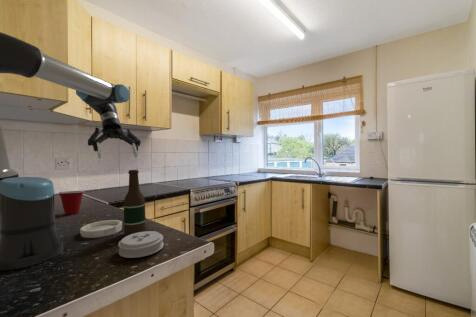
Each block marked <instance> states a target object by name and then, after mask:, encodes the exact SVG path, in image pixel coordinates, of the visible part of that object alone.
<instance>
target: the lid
mask: <svg viewBox="0 0 476 317" xmlns="http://www.w3.org/2000/svg"><path fill="white" fill-rule="evenodd" d="M163 239H164V235H163V234H161V233H160V232H158V231H155V230H154V231H153V230H151V231H150V230H149V231H147V230H146V231H145V232H138V233H134V234H131V235H128V236H124V237H123V238H122V239H121V240H119V242H118V244H117V245H118V248H119V250H118V255H119V256H120V257H121V258H122V257H123V258H128V259H130V258H131V259H132V258H142V257H146V256H150V255H153V254H155V253H158V252H159V251H160V250H162V249H163V247H164V242H163Z"/></svg>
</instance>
